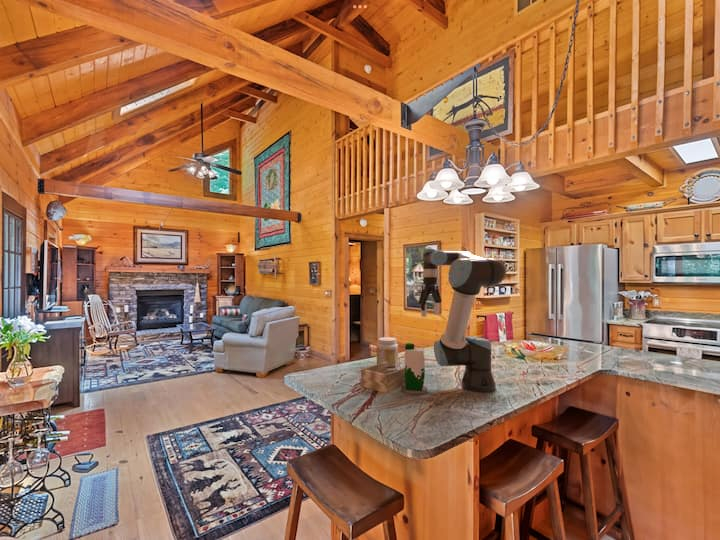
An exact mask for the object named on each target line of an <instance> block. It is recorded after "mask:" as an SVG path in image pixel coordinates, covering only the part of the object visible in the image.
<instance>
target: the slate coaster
mask: <svg viewBox="0 0 720 540" xmlns="http://www.w3.org/2000/svg"><path fill="white" fill-rule="evenodd" d="M428 390H429V389H428V387H427V386H426V385H423V389H422V391H415V390H406V385H404V386H402V387H400V391H401V392H402V393H404V394H407V395H411V396H413V395H414V396H419V395H420V396H421V395H425V394H427V393H428V392H429V391H428Z"/></svg>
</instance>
